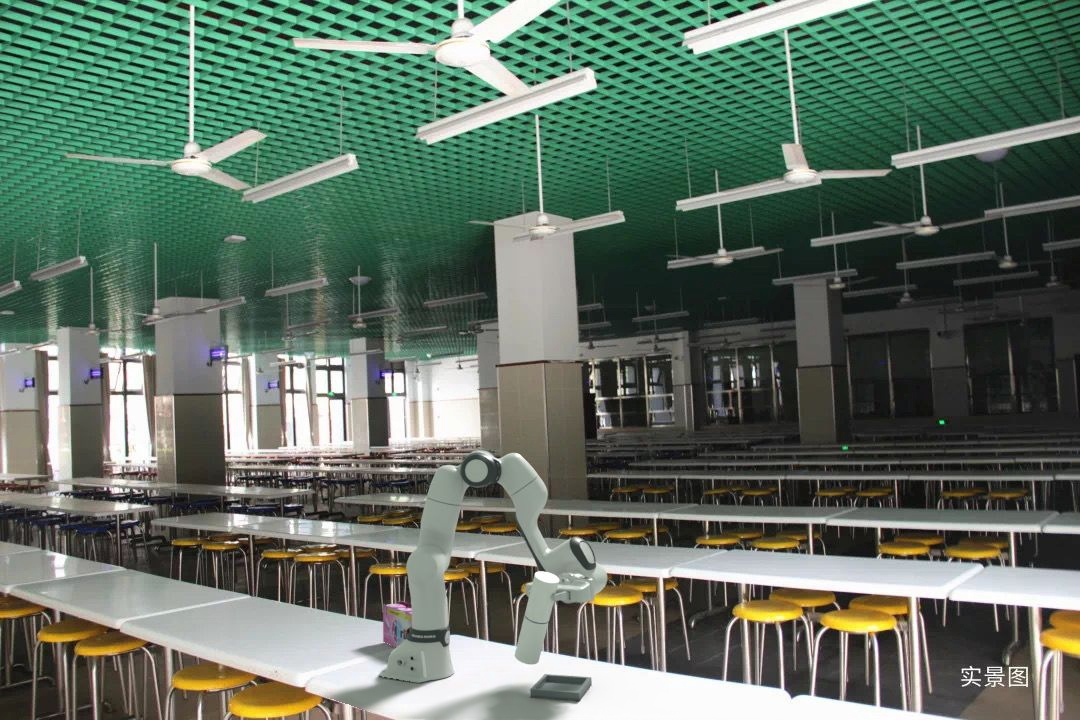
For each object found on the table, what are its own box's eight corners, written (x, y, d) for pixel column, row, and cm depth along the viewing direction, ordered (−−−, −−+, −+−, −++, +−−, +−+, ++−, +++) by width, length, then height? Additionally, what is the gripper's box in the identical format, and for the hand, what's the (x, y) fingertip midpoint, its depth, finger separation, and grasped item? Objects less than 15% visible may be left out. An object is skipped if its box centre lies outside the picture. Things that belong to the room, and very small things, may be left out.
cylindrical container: (519, 664, 230) (540, 582, 226) (511, 650, 236) (530, 570, 232) (542, 664, 232) (563, 583, 229) (533, 650, 239) (553, 572, 235)
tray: (530, 697, 225) (530, 689, 225) (545, 681, 238) (544, 674, 238) (579, 701, 221) (579, 692, 221) (591, 685, 234) (591, 677, 234)
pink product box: (380, 642, 287) (380, 603, 288) (400, 638, 291) (400, 599, 293) (414, 656, 268) (413, 614, 269) (435, 652, 273) (434, 610, 274)
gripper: (541, 573, 248) (512, 582, 237) (597, 579, 235) (570, 588, 224) (542, 594, 247) (513, 604, 236) (598, 601, 235) (571, 611, 224)
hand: (541, 596), depth 230 cm, fingers closed on cylindrical container, 7 cm apart
